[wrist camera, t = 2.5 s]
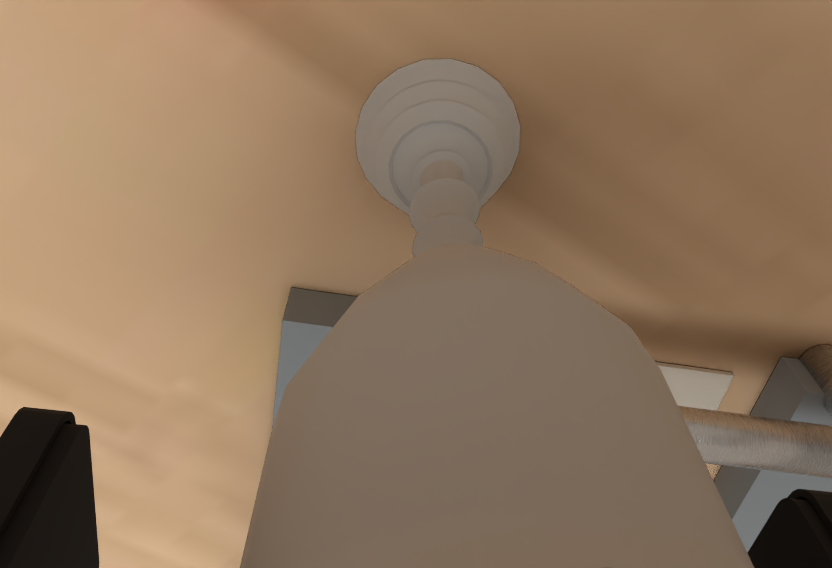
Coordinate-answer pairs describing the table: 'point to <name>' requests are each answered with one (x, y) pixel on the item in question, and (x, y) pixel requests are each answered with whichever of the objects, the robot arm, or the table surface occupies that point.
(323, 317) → the grey rectangular frame
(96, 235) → the table surface
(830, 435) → the metal bar handle
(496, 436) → the chalice
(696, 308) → the table surface
